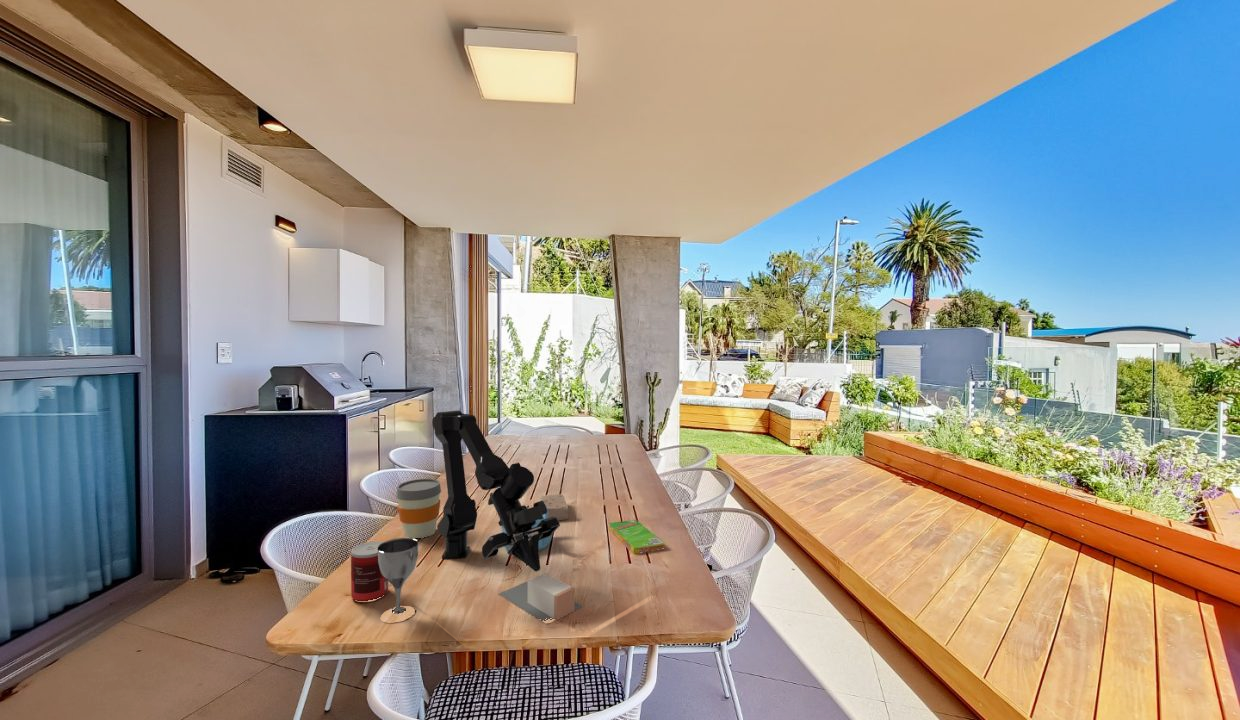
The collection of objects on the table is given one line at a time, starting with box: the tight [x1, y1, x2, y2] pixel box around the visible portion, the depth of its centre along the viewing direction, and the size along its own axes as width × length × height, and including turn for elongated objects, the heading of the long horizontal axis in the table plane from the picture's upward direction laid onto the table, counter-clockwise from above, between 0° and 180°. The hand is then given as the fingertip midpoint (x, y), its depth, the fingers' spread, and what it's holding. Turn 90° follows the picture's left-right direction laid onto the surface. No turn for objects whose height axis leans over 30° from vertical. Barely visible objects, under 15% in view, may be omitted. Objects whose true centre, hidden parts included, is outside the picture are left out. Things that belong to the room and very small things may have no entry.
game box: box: [608, 519, 665, 555], centre depth 148 cm, size 3×10×20 cm
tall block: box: [527, 572, 576, 621], centre depth 107 cm, size 5×5×10 cm
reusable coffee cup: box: [395, 478, 442, 539], centre depth 149 cm, size 13×13×15 cm
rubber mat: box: [498, 580, 584, 622], centre depth 110 cm, size 18×10×1 cm, turn 47°
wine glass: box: [377, 537, 419, 614], centre depth 105 cm, size 8×8×15 cm
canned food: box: [350, 540, 389, 601], centre depth 113 cm, size 8×8×11 cm
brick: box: [539, 493, 569, 521], centre depth 169 cm, size 17×8×5 cm, turn 13°
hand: (538, 570), depth 110 cm, fingers closed
